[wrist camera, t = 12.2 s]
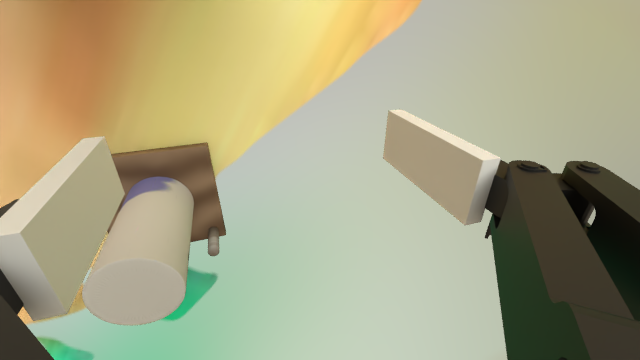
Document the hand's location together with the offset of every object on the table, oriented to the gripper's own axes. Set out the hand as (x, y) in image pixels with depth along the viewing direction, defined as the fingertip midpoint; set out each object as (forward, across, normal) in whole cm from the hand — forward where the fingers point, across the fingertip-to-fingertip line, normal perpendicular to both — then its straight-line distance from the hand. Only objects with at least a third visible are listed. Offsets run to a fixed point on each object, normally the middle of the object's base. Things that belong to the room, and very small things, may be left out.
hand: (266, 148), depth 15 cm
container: (+35, -14, -22) cm, 43 cm away
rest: (+36, -14, -22) cm, 45 cm away
